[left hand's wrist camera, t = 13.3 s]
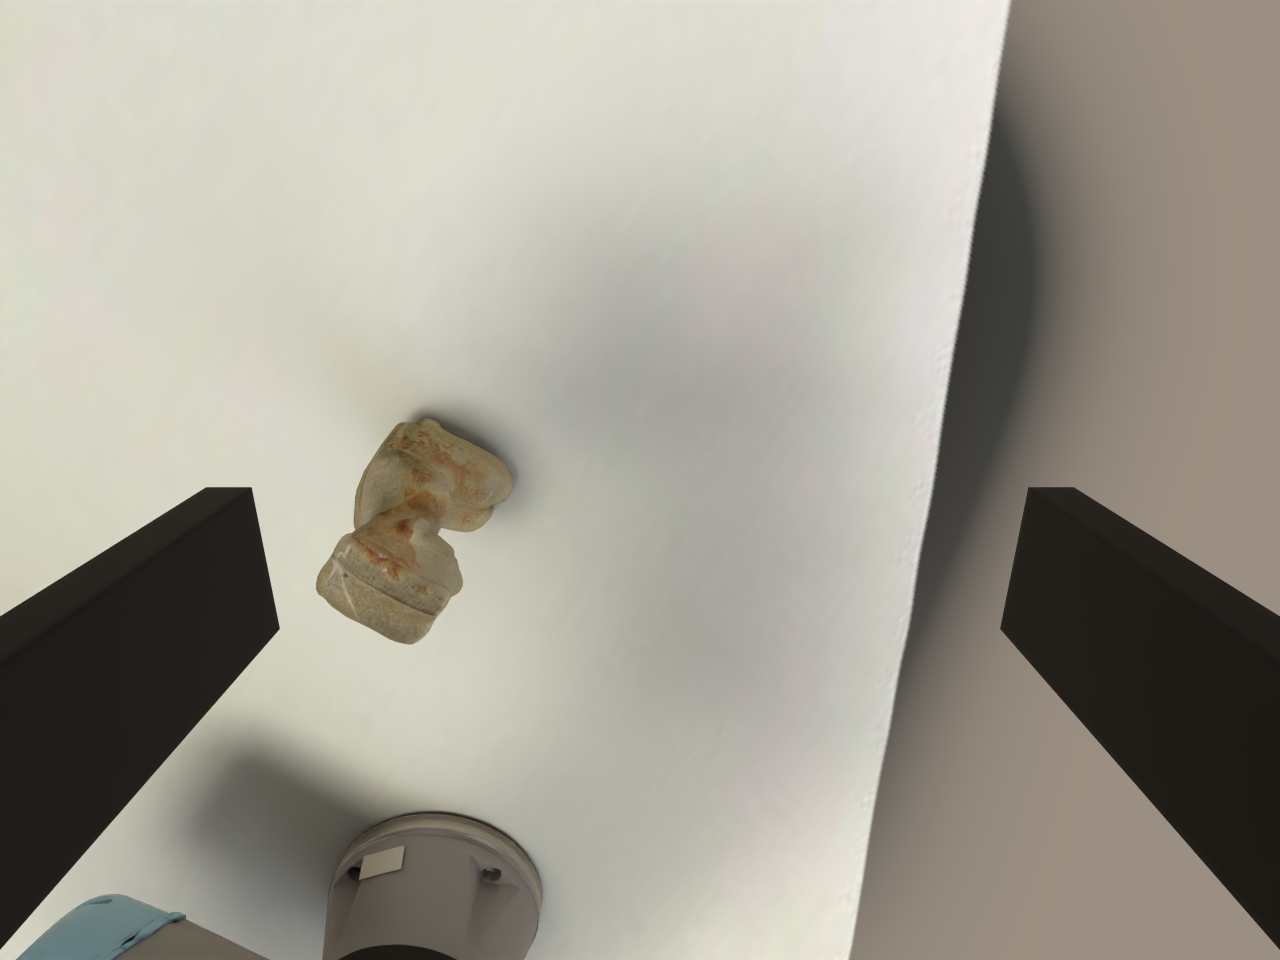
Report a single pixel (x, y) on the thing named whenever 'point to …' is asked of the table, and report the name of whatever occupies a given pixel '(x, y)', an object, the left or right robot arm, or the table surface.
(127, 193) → the table surface
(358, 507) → the sculpture
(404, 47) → the table surface
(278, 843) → the table surface
